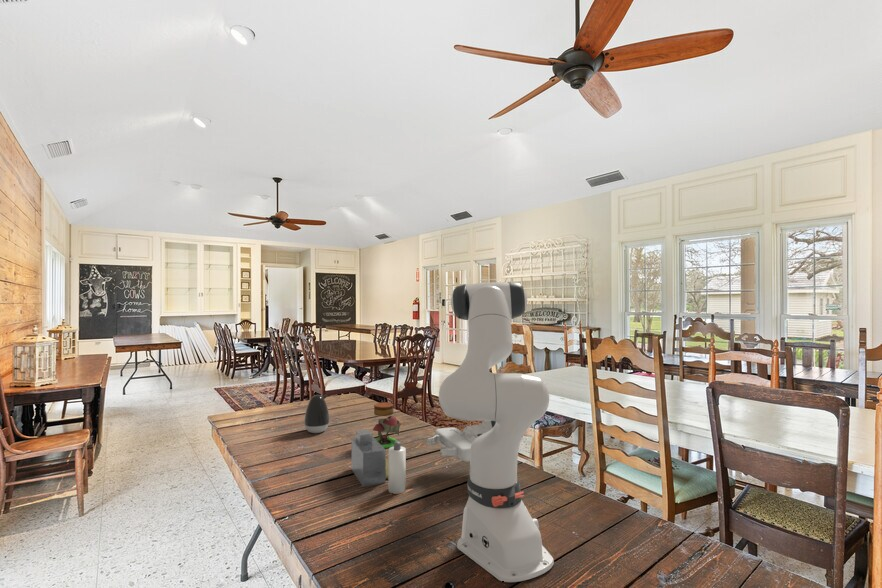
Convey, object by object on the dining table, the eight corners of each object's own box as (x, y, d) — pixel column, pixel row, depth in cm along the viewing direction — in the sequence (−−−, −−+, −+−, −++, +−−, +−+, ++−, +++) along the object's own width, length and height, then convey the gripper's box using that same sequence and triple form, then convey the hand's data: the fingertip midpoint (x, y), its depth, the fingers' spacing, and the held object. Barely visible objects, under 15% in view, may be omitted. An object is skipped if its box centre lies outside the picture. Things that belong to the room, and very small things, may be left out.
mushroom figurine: (392, 451, 154) (392, 410, 154) (362, 446, 159) (362, 406, 159) (406, 440, 165) (406, 402, 165) (378, 436, 170) (378, 399, 170)
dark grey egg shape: (335, 430, 178) (335, 394, 178) (315, 437, 169) (315, 399, 169) (318, 425, 183) (318, 390, 183) (298, 432, 175) (299, 395, 174)
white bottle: (407, 491, 123) (408, 443, 123) (391, 495, 121) (391, 446, 121) (401, 484, 127) (402, 438, 127) (386, 488, 125) (386, 440, 125)
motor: (403, 478, 131) (404, 437, 131) (363, 487, 126) (363, 443, 126) (387, 460, 146) (387, 422, 146) (350, 467, 140) (350, 428, 140)
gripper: (457, 420, 145) (421, 426, 139) (490, 440, 127) (449, 448, 121) (457, 438, 145) (421, 445, 139) (490, 461, 127) (449, 470, 121)
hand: (434, 447), depth 130 cm, fingers open, 8 cm apart
